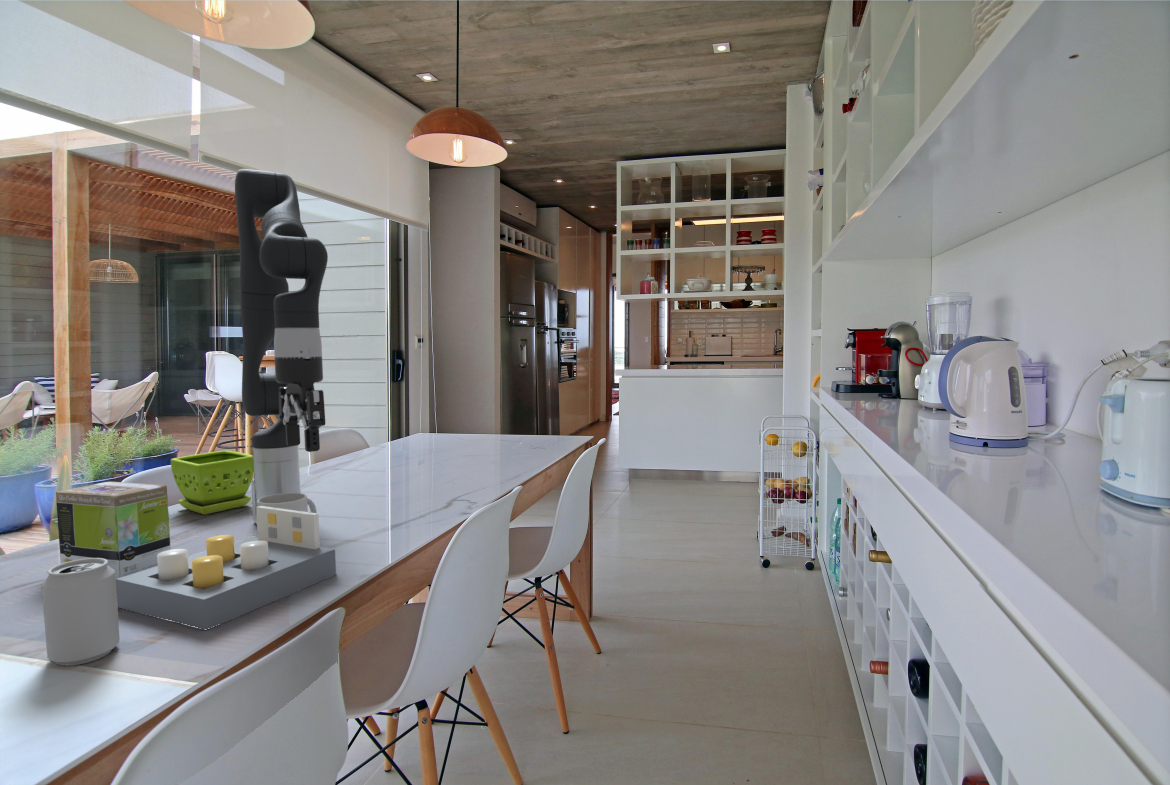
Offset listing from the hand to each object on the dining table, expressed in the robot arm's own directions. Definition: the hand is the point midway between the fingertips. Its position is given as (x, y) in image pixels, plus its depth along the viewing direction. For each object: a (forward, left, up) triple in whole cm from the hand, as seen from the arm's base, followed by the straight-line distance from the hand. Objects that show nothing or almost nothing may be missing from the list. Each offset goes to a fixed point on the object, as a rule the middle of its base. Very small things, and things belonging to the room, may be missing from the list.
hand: (302, 448), depth 115 cm
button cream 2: (0, -11, -19) cm, 22 cm away
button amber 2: (0, -19, -19) cm, 27 cm away
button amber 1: (-8, -11, -19) cm, 23 cm away
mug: (-14, +8, -22) cm, 27 cm away
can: (-2, -35, -22) cm, 41 cm away
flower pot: (-56, +23, -22) cm, 64 cm away
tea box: (-33, -13, -22) cm, 41 cm away
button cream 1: (-8, -19, -19) cm, 28 cm away
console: (-4, -12, -22) cm, 25 cm away
